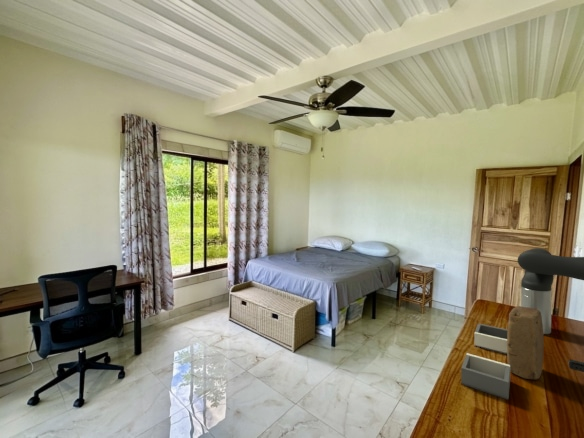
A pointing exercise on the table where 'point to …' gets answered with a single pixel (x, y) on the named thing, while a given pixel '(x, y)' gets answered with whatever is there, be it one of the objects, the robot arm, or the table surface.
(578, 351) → the table surface
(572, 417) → the table surface
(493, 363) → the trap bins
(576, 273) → the robot arm
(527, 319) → the block
